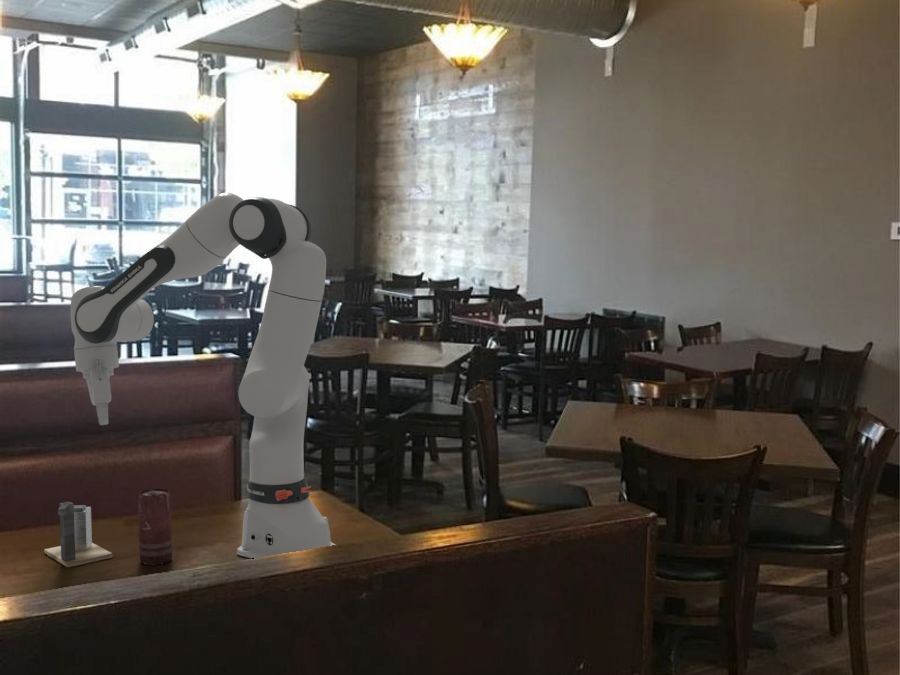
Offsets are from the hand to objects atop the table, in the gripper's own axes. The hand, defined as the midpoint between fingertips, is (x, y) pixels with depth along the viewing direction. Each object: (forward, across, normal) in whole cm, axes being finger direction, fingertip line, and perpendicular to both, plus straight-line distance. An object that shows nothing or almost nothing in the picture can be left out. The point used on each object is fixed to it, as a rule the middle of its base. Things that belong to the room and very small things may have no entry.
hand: (103, 424), depth 207 cm
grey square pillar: (+24, -9, +7) cm, 27 cm away
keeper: (+26, -12, +8) cm, 29 cm away
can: (+28, -20, -7) cm, 35 cm away
